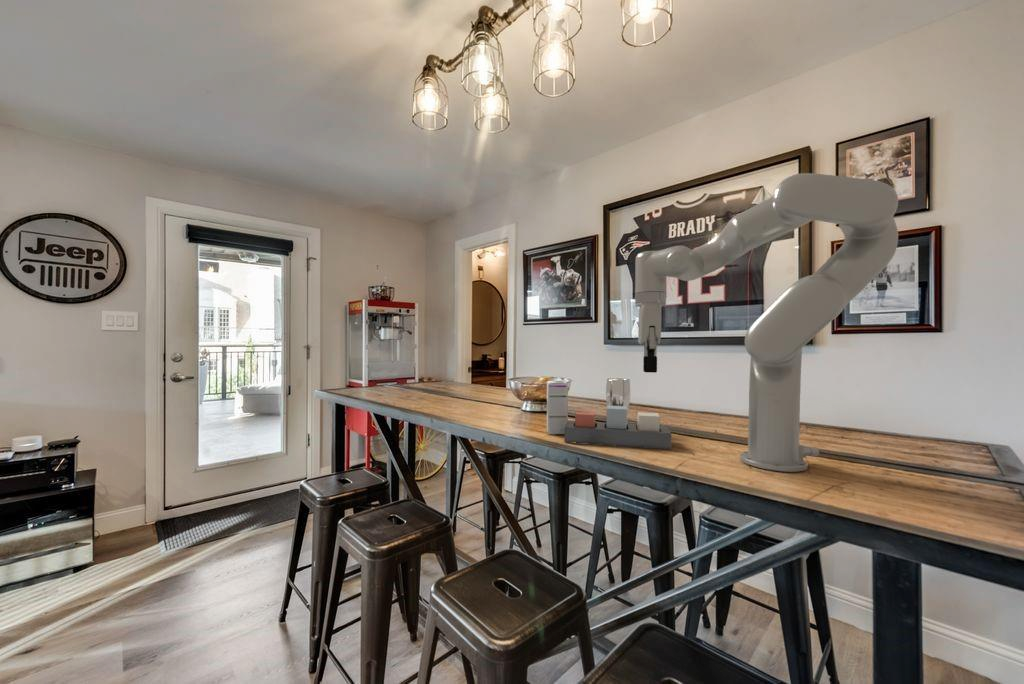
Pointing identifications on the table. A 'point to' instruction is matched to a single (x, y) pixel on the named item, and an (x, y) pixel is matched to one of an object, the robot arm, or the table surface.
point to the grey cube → (616, 417)
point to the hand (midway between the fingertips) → (650, 372)
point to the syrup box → (557, 406)
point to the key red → (585, 419)
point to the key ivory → (648, 421)
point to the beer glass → (618, 392)
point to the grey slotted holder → (618, 436)
